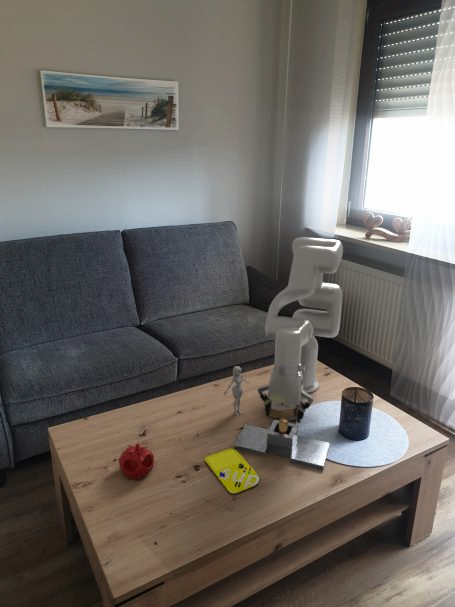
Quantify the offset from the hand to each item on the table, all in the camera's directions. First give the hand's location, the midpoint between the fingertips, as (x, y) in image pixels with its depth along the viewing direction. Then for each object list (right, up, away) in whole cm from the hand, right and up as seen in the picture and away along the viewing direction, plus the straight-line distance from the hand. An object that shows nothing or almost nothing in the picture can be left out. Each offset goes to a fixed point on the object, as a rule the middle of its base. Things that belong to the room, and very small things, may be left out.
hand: (283, 417), depth 149 cm
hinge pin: (0, -11, +4) cm, 11 cm away
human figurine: (-14, -4, +23) cm, 27 cm away
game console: (-16, -15, -6) cm, 23 cm away
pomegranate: (-44, -14, -7) cm, 47 cm away
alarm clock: (+3, -4, +23) cm, 23 cm away
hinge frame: (0, -11, +4) cm, 11 cm away
